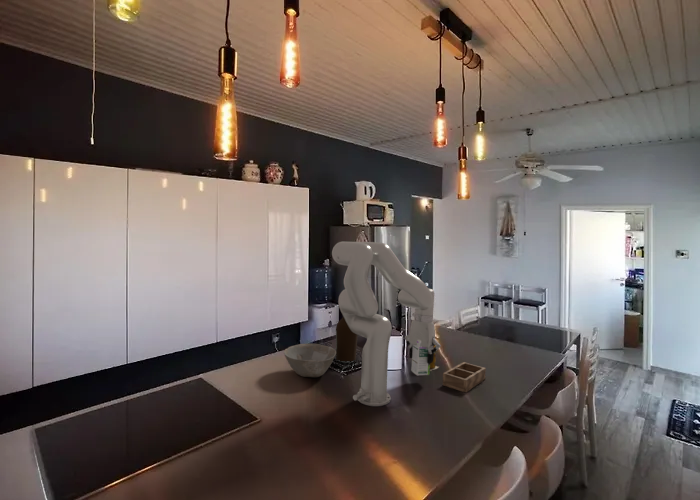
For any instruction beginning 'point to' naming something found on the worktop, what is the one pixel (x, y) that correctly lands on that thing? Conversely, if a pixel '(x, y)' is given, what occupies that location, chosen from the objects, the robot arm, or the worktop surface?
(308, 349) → the ceramic bowl
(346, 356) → the olive oil
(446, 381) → the box
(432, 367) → the condiment
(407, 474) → the worktop surface
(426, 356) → the syrup box
